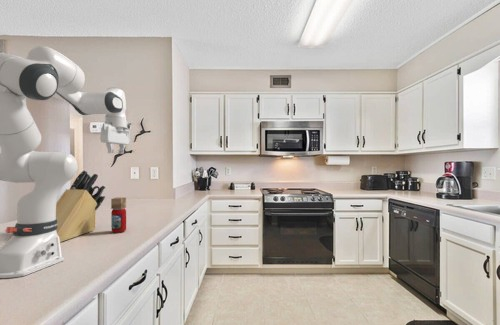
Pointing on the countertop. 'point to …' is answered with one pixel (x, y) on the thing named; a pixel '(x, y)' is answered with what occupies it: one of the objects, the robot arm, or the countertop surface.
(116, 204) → the walnut block
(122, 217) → the beverage can
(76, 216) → the knife block
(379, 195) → the countertop surface
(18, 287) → the countertop surface
